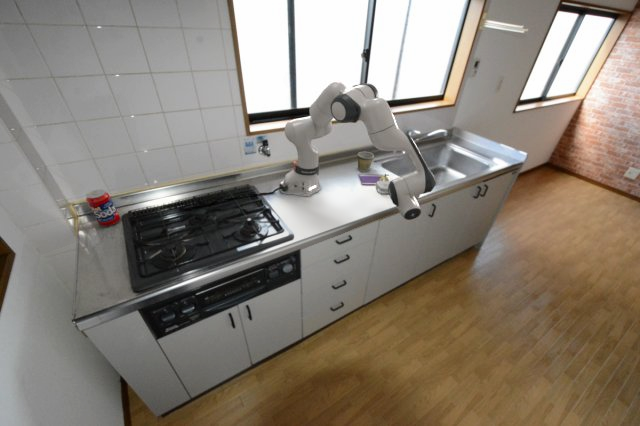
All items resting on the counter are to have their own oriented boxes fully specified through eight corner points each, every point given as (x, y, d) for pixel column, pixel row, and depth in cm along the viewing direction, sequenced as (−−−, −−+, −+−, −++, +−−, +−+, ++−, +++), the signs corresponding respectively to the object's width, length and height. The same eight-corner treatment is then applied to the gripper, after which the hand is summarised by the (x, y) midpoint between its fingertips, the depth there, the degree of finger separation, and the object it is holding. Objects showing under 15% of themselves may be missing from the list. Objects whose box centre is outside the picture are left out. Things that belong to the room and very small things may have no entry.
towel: (362, 184, 158) (362, 184, 157) (358, 175, 167) (358, 174, 167) (387, 185, 159) (387, 184, 159) (382, 175, 168) (382, 174, 168)
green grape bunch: (377, 194, 150) (381, 176, 144) (375, 188, 155) (378, 171, 149) (388, 194, 151) (392, 176, 144) (385, 188, 156) (389, 171, 149)
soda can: (115, 214, 125) (101, 186, 116) (124, 221, 121) (110, 192, 112) (96, 223, 119) (80, 194, 110) (105, 230, 116) (89, 200, 107)
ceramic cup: (367, 174, 168) (369, 159, 162) (352, 169, 172) (354, 155, 166) (375, 167, 177) (378, 152, 171) (361, 162, 181) (364, 148, 175)
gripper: (377, 199, 125) (371, 184, 136) (421, 200, 126) (411, 185, 137) (380, 188, 121) (373, 173, 132) (424, 188, 122) (414, 173, 134)
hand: (393, 179), depth 135 cm, fingers open, 8 cm apart
